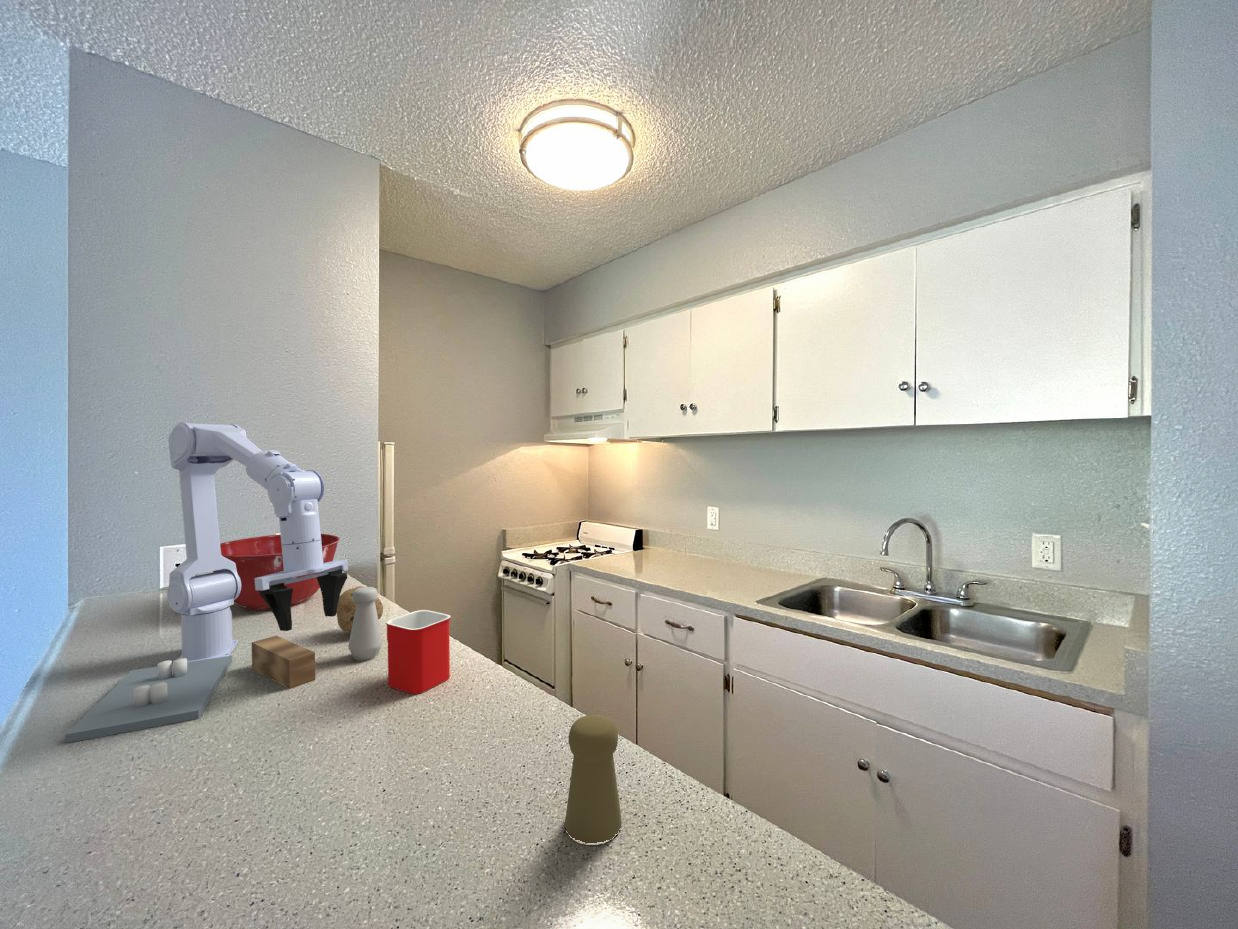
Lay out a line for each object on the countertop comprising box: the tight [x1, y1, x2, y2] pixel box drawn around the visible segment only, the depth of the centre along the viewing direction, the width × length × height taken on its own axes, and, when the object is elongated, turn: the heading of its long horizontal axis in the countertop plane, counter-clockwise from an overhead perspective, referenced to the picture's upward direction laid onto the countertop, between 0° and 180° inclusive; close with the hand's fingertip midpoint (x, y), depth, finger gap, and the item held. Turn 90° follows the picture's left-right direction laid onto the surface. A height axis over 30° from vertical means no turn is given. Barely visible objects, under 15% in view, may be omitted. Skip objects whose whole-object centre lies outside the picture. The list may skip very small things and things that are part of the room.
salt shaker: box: [347, 586, 383, 662], centre depth 97 cm, size 6×6×13 cm
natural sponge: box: [336, 586, 384, 635], centre depth 109 cm, size 9×9×10 cm
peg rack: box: [65, 655, 233, 744], centre depth 81 cm, size 22×14×4 cm, turn 27°
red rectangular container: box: [385, 609, 452, 695], centre depth 88 cm, size 12×8×11 cm
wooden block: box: [251, 635, 316, 690], centre depth 89 cm, size 14×4×5 cm, turn 57°
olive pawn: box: [564, 714, 623, 843], centre depth 54 cm, size 6×6×11 cm
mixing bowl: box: [212, 533, 341, 611], centre depth 131 cm, size 28×28×16 cm
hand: (309, 622), depth 86 cm, fingers open, 7 cm apart
